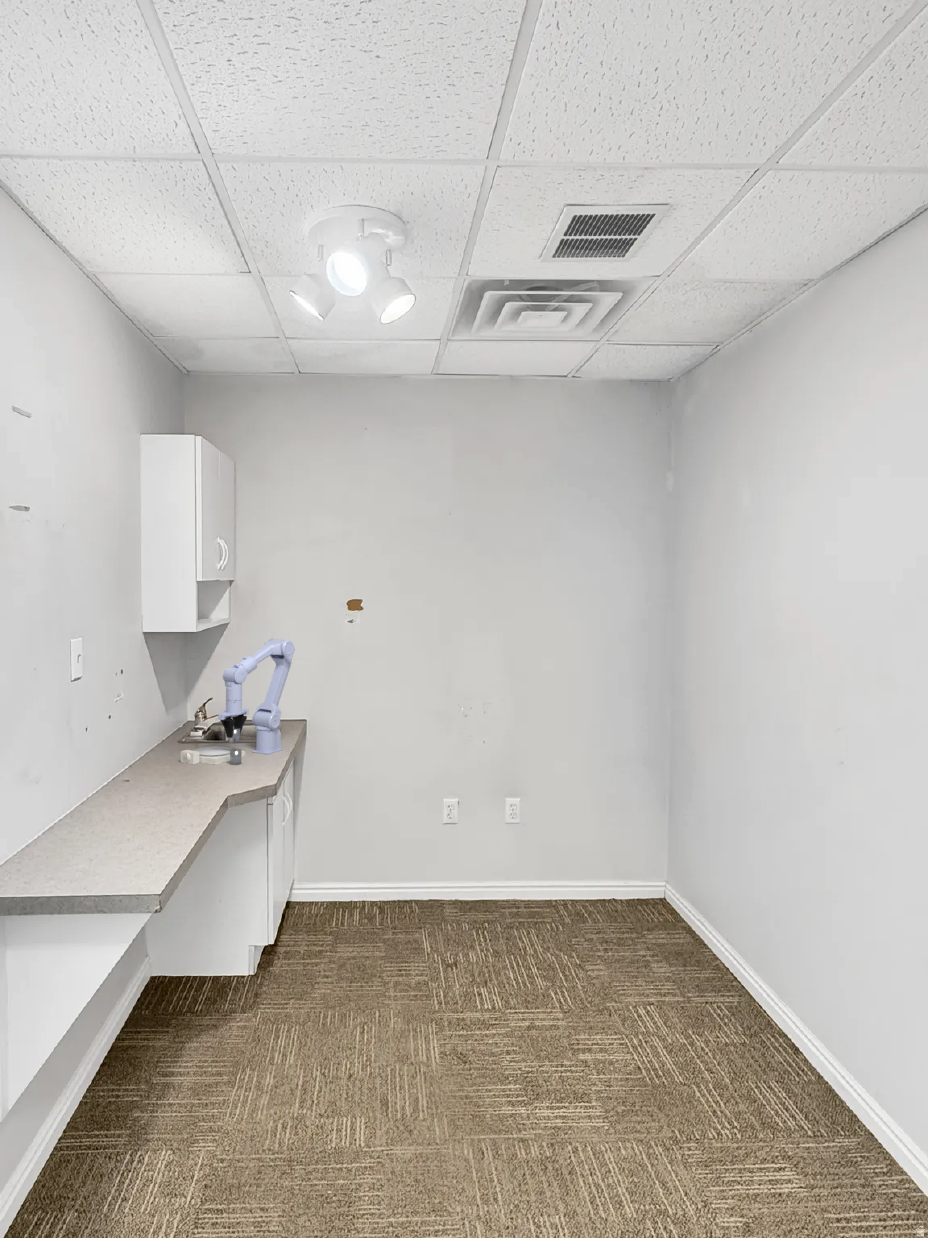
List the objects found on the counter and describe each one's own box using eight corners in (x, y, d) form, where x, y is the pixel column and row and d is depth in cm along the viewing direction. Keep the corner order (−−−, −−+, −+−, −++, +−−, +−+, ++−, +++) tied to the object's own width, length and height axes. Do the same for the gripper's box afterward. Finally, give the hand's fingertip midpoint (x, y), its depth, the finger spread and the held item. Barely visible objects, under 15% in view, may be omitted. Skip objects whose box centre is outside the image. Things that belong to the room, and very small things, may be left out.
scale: (212, 751, 322) (212, 741, 322) (244, 756, 315) (245, 745, 315) (173, 761, 304) (173, 750, 304) (207, 766, 297) (207, 755, 297)
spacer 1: (233, 740, 312) (233, 727, 312) (242, 741, 311) (242, 728, 310) (226, 742, 309) (226, 729, 308) (235, 743, 307) (235, 730, 307)
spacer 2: (235, 762, 306) (235, 748, 305) (243, 763, 304) (243, 749, 304) (227, 764, 302) (227, 750, 302) (236, 765, 300) (236, 751, 300)
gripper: (238, 696, 317) (237, 732, 318) (211, 701, 304) (211, 738, 305) (253, 698, 314) (252, 734, 315) (227, 703, 301) (227, 740, 302)
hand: (233, 736), depth 310 cm, fingers closed on spacer 1, 4 cm apart
